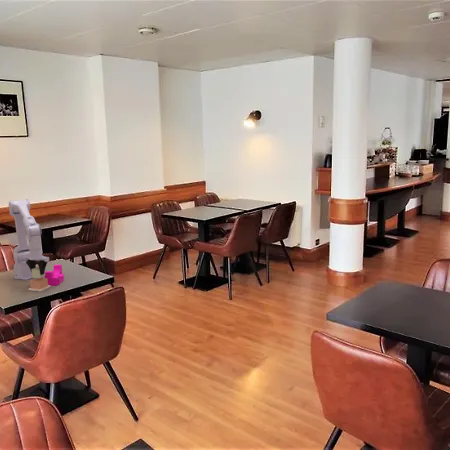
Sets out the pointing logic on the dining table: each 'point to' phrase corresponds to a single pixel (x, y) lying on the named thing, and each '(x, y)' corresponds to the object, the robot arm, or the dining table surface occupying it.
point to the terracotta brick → (39, 283)
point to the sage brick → (36, 273)
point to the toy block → (55, 276)
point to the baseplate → (39, 289)
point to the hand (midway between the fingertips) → (38, 274)
